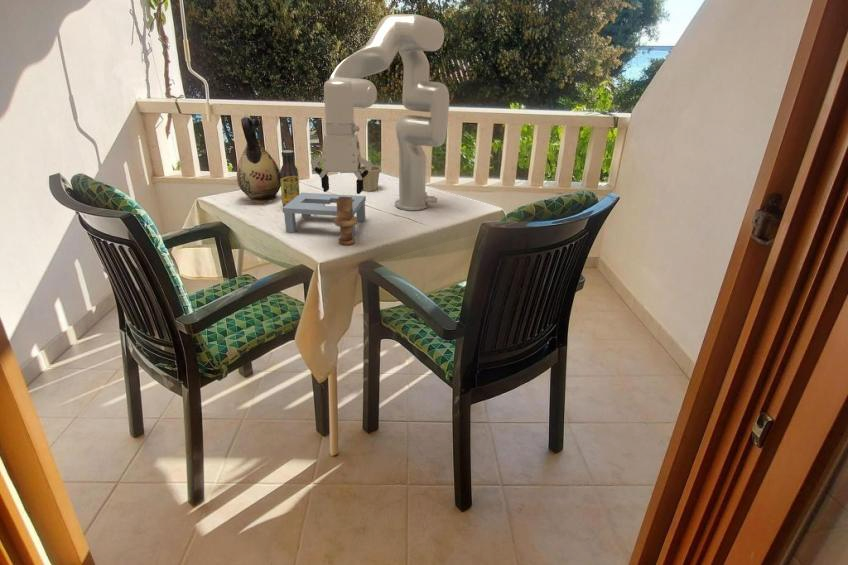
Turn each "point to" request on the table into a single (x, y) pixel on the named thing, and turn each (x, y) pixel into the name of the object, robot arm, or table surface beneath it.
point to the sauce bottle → (289, 178)
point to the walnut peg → (345, 220)
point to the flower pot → (371, 178)
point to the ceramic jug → (257, 167)
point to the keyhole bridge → (319, 208)
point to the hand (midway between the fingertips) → (342, 191)
